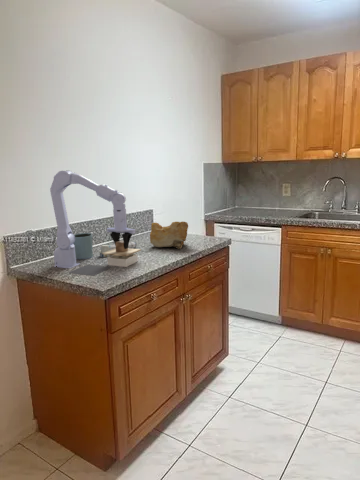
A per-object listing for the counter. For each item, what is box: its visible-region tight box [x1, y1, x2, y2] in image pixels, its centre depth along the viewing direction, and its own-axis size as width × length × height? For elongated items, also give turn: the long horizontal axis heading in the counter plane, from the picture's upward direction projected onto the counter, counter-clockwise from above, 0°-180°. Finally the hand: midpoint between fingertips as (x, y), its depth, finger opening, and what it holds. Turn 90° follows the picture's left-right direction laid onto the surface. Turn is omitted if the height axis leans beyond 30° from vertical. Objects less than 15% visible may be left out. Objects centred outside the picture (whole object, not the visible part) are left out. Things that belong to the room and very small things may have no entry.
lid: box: [102, 240, 142, 256], centre depth 170 cm, size 13×13×5 cm
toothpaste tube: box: [98, 241, 137, 258], centre depth 194 cm, size 5×7×25 cm
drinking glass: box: [73, 232, 94, 260], centre depth 184 cm, size 10×10×12 cm
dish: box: [107, 253, 139, 268], centre depth 171 cm, size 10×10×4 cm
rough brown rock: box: [149, 221, 189, 250], centre depth 204 cm, size 23×17×15 cm
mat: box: [68, 264, 113, 277], centre depth 162 cm, size 14×14×1 cm
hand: (122, 248), depth 170 cm, fingers closed on lid, 4 cm apart
